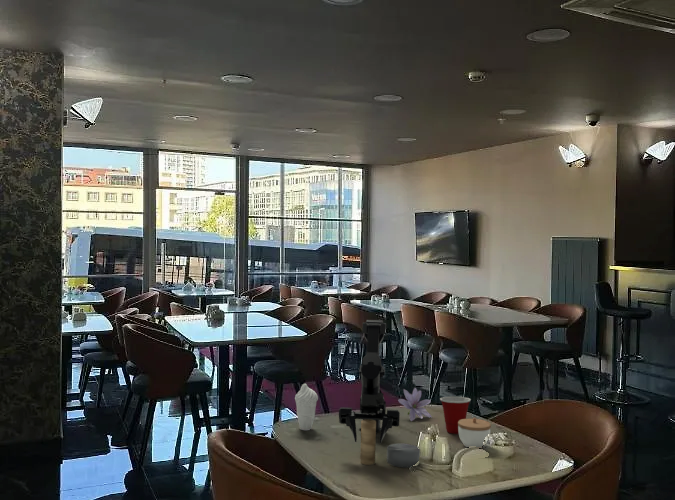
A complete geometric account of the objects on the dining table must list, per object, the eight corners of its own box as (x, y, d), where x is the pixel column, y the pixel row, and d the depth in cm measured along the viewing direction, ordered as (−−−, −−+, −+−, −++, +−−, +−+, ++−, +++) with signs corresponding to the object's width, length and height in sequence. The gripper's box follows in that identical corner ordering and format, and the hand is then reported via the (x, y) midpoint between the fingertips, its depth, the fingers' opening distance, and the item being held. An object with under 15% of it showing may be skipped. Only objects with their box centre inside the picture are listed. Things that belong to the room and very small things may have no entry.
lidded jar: (453, 441, 218) (454, 413, 218) (484, 441, 219) (485, 413, 219) (462, 451, 207) (463, 422, 207) (494, 451, 208) (495, 422, 208)
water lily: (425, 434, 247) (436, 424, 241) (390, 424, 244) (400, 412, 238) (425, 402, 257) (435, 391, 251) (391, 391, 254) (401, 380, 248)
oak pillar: (366, 458, 198) (367, 418, 198) (378, 462, 195) (379, 421, 195) (357, 462, 195) (358, 421, 195) (369, 466, 192) (370, 424, 192)
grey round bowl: (398, 453, 203) (399, 441, 203) (425, 461, 197) (426, 448, 197) (380, 461, 196) (380, 448, 196) (407, 469, 189) (407, 456, 189)
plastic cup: (460, 426, 236) (461, 393, 236) (475, 434, 226) (476, 400, 225) (433, 428, 232) (434, 395, 232) (448, 437, 222) (449, 402, 222)
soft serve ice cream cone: (321, 427, 230) (322, 383, 230) (310, 433, 223) (311, 387, 222) (300, 424, 234) (301, 380, 233) (289, 430, 226) (290, 384, 226)
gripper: (339, 381, 199) (335, 427, 189) (400, 384, 198) (399, 430, 187) (341, 400, 207) (337, 445, 197) (399, 403, 206) (398, 448, 195)
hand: (368, 442), depth 194 cm, fingers open, 7 cm apart
